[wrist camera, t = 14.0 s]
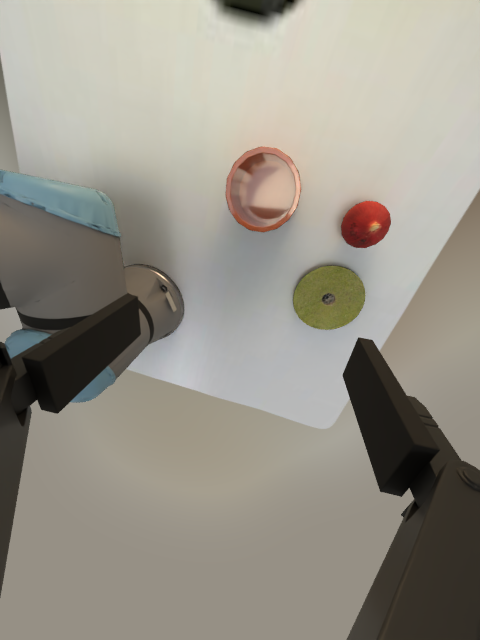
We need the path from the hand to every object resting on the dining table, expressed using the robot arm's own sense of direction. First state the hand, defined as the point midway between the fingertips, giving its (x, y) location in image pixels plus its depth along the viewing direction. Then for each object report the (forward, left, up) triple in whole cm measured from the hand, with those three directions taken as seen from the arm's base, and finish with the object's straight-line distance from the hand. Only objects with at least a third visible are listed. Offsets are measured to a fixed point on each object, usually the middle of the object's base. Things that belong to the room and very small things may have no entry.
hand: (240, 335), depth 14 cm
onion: (+12, +6, -29) cm, 31 cm away
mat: (+11, -6, -29) cm, 31 cm away
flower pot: (-2, +8, -28) cm, 30 cm away
